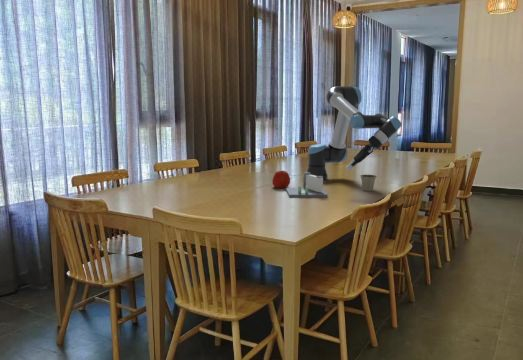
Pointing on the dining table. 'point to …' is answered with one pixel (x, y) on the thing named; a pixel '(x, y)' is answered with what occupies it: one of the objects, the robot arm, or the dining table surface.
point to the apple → (281, 179)
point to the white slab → (313, 182)
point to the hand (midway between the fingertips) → (347, 169)
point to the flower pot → (368, 182)
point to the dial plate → (304, 192)
